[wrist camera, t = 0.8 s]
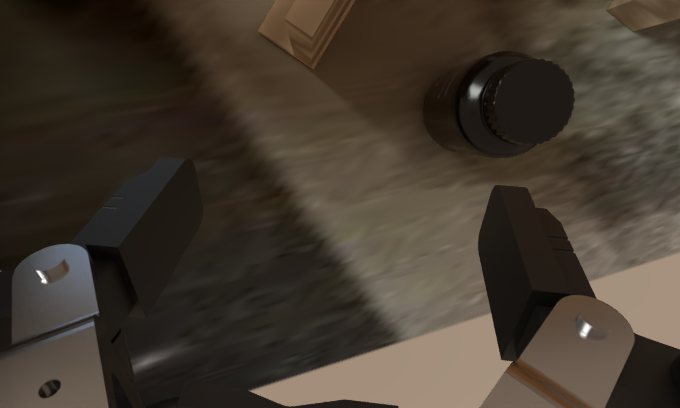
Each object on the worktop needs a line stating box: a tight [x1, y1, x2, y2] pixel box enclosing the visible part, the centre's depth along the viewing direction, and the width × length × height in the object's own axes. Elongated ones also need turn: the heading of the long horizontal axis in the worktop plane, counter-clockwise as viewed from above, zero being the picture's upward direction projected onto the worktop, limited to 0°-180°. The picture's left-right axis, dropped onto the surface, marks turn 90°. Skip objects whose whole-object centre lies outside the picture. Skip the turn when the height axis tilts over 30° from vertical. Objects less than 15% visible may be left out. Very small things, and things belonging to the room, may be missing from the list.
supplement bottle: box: [423, 51, 575, 158], centre depth 30 cm, size 7×7×12 cm
